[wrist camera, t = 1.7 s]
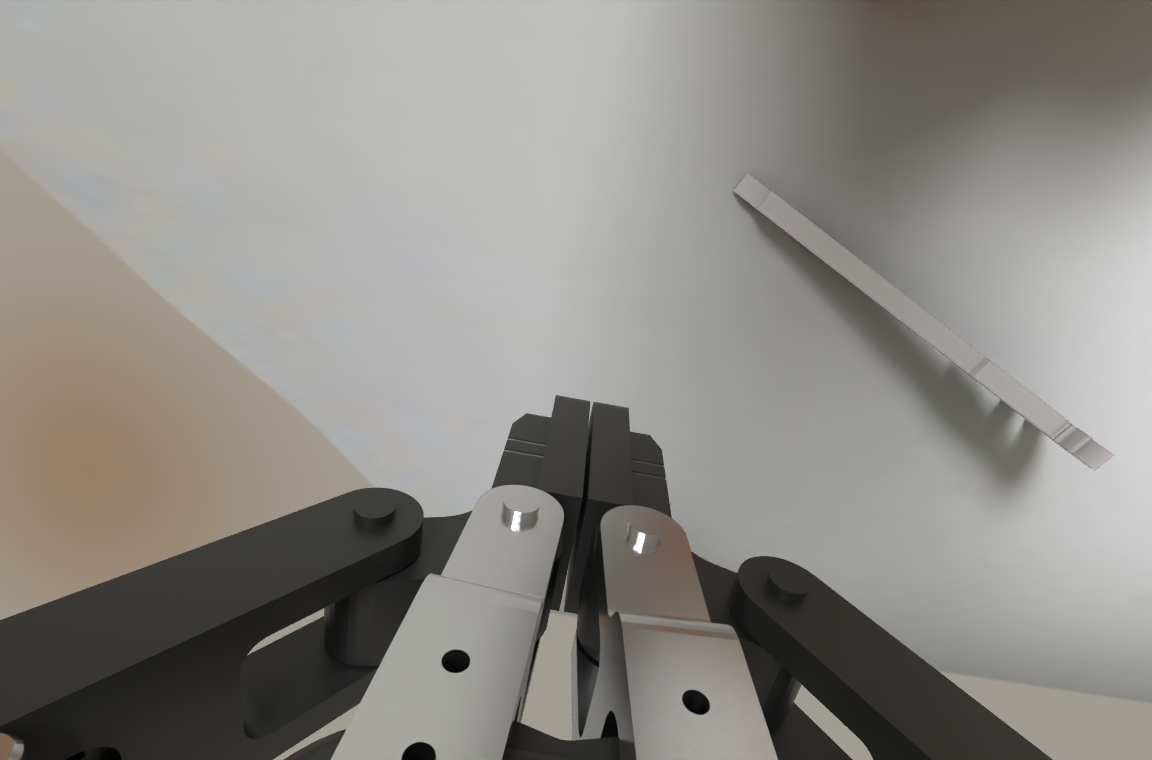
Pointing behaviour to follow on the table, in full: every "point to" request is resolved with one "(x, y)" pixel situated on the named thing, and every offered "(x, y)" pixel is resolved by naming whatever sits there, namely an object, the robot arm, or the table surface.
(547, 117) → the table surface
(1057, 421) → the caliper
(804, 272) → the table surface
